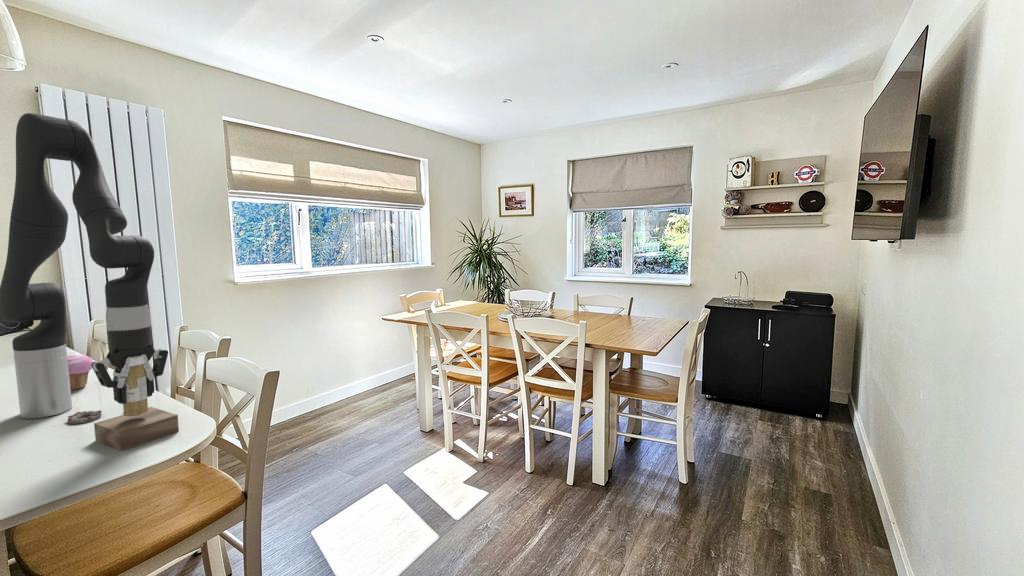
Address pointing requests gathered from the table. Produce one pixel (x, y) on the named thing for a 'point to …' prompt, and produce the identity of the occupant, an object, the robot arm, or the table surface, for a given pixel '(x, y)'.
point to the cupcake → (78, 370)
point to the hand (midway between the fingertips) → (135, 399)
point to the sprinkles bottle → (136, 388)
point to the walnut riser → (136, 428)
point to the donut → (84, 417)
